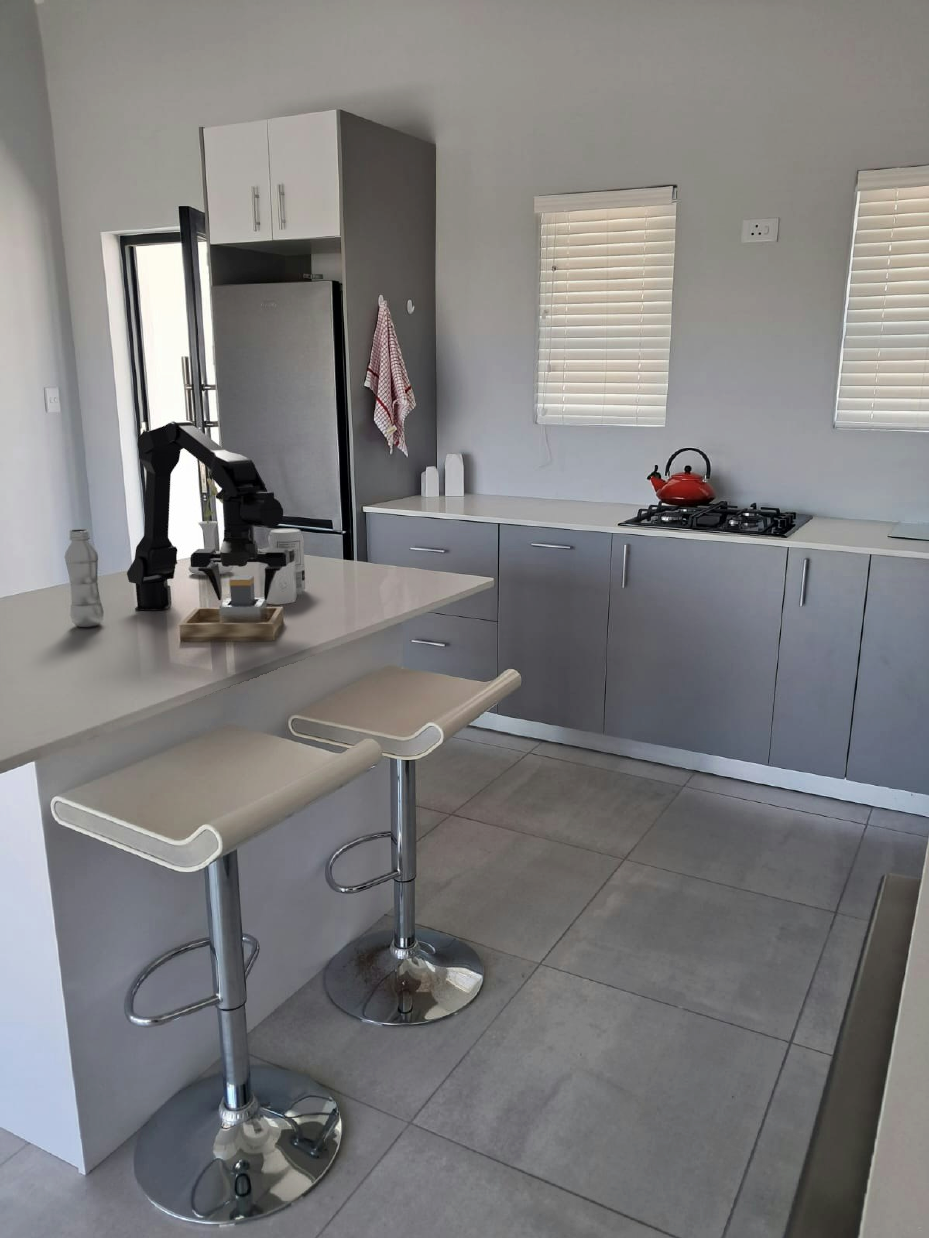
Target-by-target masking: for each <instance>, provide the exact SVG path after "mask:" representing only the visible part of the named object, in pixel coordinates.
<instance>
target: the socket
mask: <svg viewBox="0 0 929 1238" xmlns="http://www.w3.org/2000/svg"><path fill="white" fill-rule="evenodd" d="M267 607H268V605H267V602H266V600H265V598H260V597H255V605H231V597H226V599H224V601H222V603H221V604H220V605H219V613H220V623H267Z"/></svg>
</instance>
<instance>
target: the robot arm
mask: <svg viewBox="0 0 929 1238" xmlns="http://www.w3.org/2000/svg"><path fill="white" fill-rule="evenodd" d="M137 448H138V452H137V453H138V458H139V461H140V462H141V464H142V465H143V468H144V469H145V496H144V497H145V502H144V503H145V505H144V530H143V532H144V533H143V536H142V537H141V539H140V540H139V542H138V544H137V545H136V547H135V553H134V560H133V562H132V563H131V564H130V567H129V568H128V570H127V572H126V575H127V579H128V582H129V583H132V584H135V594H136V604H137V606H136V607H134V609H135V611H165V610H166V609H168V607H170V606H171V605H172V591H171V585H169V584H168V580H173V579H175V571H176V570H175V569H176V565H177V564H178V560H177V557H178V555H177V554H178V548H177V546H174V545H173V544H172V541H171V540H170V538H169V527H170V525H169V524H170V523H169V521H170V503H171V501H170V499H171V497H170V496H171V480H172V479H171V477H172V472H174V469H175V468H176V467H177V465H178V464H179V461H180V456H181V451H182V450H183V449H184V450H186V452H188V453H189V454H191V455H192V456H193V457H194V458H195V459H197V460H198V461H199V462H201V463H202V464H203V465H204V466H206V468H208V470H209V471H210V472H209V473H210V477H211V480H212V481H214V483H216V484H217V486H218V487H219V488H221V490H220V491H219V492H218V494H217V495H215V499H217V500H219V499H222V500H223V504H222V514H223V517H222V518H223V540H222V543H221V546H220V549H219V552H218V553H216V551H217V550H216V548H215V549H205V548H198V549H196V550H195V551H193V552H192V553H191V555H190V561H189V563H190V565H191V567H199V568H198V571H203V572H204V573H205V574H206V575H207V576H206V577H207V579H208V581H209V582H210V585H211V586H212V588H213V591H214V593H215V595H216V598H217V600H218V601H221V600H222V593H223V591H222V585H221V575H220V574H219V566H218V563H215V562H221V563H222V566H225V567H229V566H233V567H234V566H236V567H245V566H247V564H248V563H259V562H266V564H267V567H266V568H265V586H264V598H265V600H267V598H268V595H269V591H270V588H271V584H272V581H273V578H274V576H275V573H276V571H279V570H281V568H282V567H285V566H287V564H288V563H289V562H290V558H289V551H288V550H287V549H269V550H268V551H267V552H266V553H258V551H259V550H258V543H257V540H255V527H262V528H268V529H273V528H276V527H277V526H279V525H280V523H282V520H283V518H284V509H283V505H282V504H281V502H280V501H279V500H278V499H276V498H275V492H274V491H268V490H267V487H266V483H264V481H263V480H262V477H261V475H260V473H259V471H258V470H257V468H256V464H255V463H254V462H253V460H252V459H251V458H248V457H246V456H244V455H242V454H239V453H235V452H231V451H228V450H226V449H224V448H223V447H222V446H221V445H219V444H218V443H217V442H216V441H214V440H213V439H212V438H210V437H209V436H208V435H207V434H205V433H204V432H203V431H201V430H200V429H199V428H198V427H196V424H194V422H192V421H190V420H176V421H175V420H172V421H171V422H168V423H167V424H165V425H163V426H160V427H157V428H155V429H151V430H144V431H143V432H142V433H141V434H139V436H138V439H137Z"/></svg>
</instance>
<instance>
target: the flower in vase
mask: <svg viewBox="0 0 929 1238" xmlns="http://www.w3.org/2000/svg"><path fill="white" fill-rule="evenodd" d="M206 480H207V483H208V486H209V487H210V489H211V494H210V495H209V497H208V500H207V502H206V506H205V510H206V511H205V513H204V514H203V515H202V516H203V517H205V518H206V520H204V521H199V522H197V523H198V525H199V526H200V528H201V530H202V532H203V536H204V549H215V550H216V547H215V543H214V542H215V541H214V535H215V529H216V527H217V525H218V523H219V522H218V521H215V520H209V516H212V515H213V511H212V510H210V508H209V504H210V500H211V498H212V496H216V495H217V494H218V493H219V492H218V487H217V486H216V485H214V483H213V480H212V478H209V477H208V478H207V479H206ZM218 501H219V502H220V503H221V504H222V505H223V500H222V499H218ZM216 553H219V552H218V551H217V550H216ZM215 563H218V566H219V574H220V576H221V575H224V574H229V572H231V571H233V569H234V566H229V567H225V566H222V563H221V562H215ZM198 568H199V567H191V564H189V567H188V571H189V572H190V573H191V574H194V575H197V576H206V577H207V575H206V574H205V573H204V572H203V571H198Z"/></svg>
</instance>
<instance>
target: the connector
mask: <svg viewBox="0 0 929 1238" xmlns="http://www.w3.org/2000/svg"><path fill="white" fill-rule="evenodd" d="M229 587H230V588H229V589H230V590H229V591H230V598H231V605H255V598H256V596H255V576H254V575H233V576H232V577H230V579H229Z"/></svg>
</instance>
